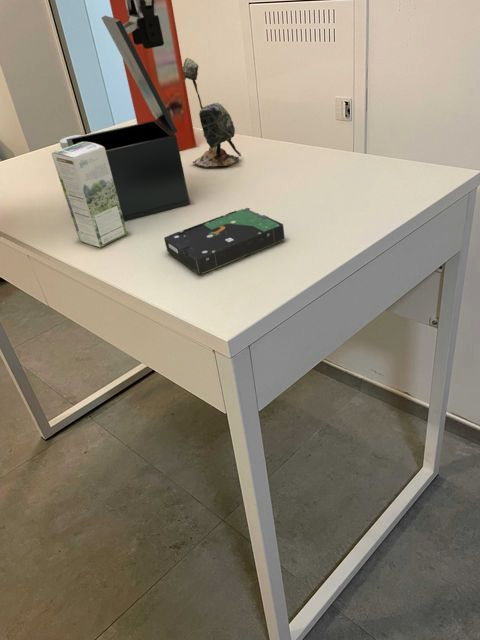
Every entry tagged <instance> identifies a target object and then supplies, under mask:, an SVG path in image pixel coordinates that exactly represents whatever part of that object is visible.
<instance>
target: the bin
mask: <svg viewBox="0 0 480 640" xmlns="http://www.w3.org/2000/svg"><path fill="white" fill-rule="evenodd" d="M66 140H67V143H68V146H72V145H75V144H78V143H80V142H91V143H95V144H98V145H101V146H103V147H105V151H106V155H107V158H108V162H109V166H110V170H111V174H112V177H113V181H114V185H115V189H116V193H117V196H118V200H119V204H120V208H121V211H122V215H123V219H124V222H127V221H130V220H131V221H132V220H134V219H138V218H142V217H147V216H149V215H155V214H157V213H161V212H165V211H170V210H172V209H177V208H180V207H184V206H189V205H191V202H190V197H189V193H188V188H187V182H186V177H185V173H184V168H183V163H182V157H181V153H180V151H179V147H178V142H177V137H176V135H175V134H173V133H172V132H171V131H170V130H169V129H167V128H166V127H165V126H164V125H163V124H161V123H160V122H159V121H158V120H154V121H150V122H145V123H140V124H137V123H136V124H131V125H126V126H123V127H117V128H113V129H108V130H104V131H100V132H99V131H98V132H94V133H89V134H85V135H83V136H80V137H75V138H71V139H66Z"/></svg>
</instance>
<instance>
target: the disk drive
mask: <svg viewBox="0 0 480 640" xmlns="http://www.w3.org/2000/svg"><path fill="white" fill-rule="evenodd" d="M250 209H251V208H250V207H246V208H241V209H239V210H234V211H230V212H228V213H226V214H224V215H220V216H217V217H215V218H212V219H210V220H206V221H205V222H202V223H198V224H196V225H194V226H191V227H190V226H189V227H188V228H185V229H183V230H179V231H177V232H174V233H171V234H169V235H167V236H164V237H163V239H164V240H163V241H164V243H165V247H166V251H167V252H168V253H169V254H170V255H171V256H173V257H174V258H176V259H177V260H178V261H180V262H181V263H183V264H184V265H185V266H187V267H188V268H190V269H191V270H192V271H194V272H196V273H197V274H199V275H201V274H204V273H207V272H210V271H212V270H215V269H218V268H220V267H222V266H226V265H227V264H229V263H232V262H234V261H237V260H239V259H242V258H243V257H245V256H248V255H251V254H254V253H256V252H259V251H261V250H263V249H266V248H268V247H271V246H273V245H276V244H278V243H280V242H281V241H283V240H285V229H284V223H281V222H279V221H278V220H275V219H273V218H271V217H269V216H268V215H265V214H263V215H262V214H260V213H258V212H256V211H253V210H250Z"/></svg>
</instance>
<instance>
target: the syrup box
mask: <svg viewBox="0 0 480 640" xmlns="http://www.w3.org/2000/svg"><path fill="white" fill-rule="evenodd" d="M51 158H52V160H53V164H54V167H55V169H56V172H57V175H58V179H59V182H60V185H61V188H62V191H63V194H64V197H65V200H66V203H67V206H68V209H69V212H70V215H71V218H72V222H73V225H74V227H75V231H76V234H77V237H78V240H79V241H80V242H82V243H85V244H87V245H91V246H94V247H98V248H103V247H104V246H107V245H108V244H110V243H113V242H115V241H116V240H118V239H120V238H122V237H124V236H126V235H128V230H127V227H126V224H125V221H124V219H123V215H122V211H121V208H120V204H119V200H118V196H117V193H116V189H115V185H114V181H113V177H112V174H111V170H110V166H109V162H108V158H107V155H106V151H105V147H103V146H101V145H98V144H95V143H91V142H80V143H78V144H75V145H72V146H69V147H67V148H64V149H62V148H61V149H58V150H56V151H53V152H51Z"/></svg>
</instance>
